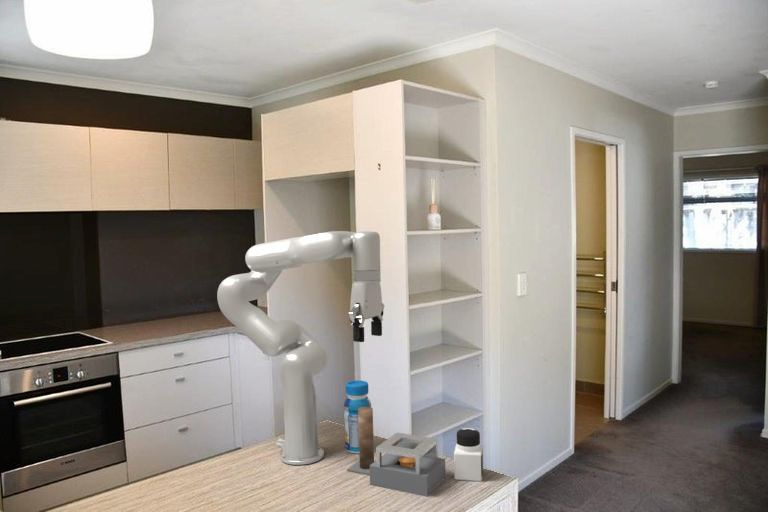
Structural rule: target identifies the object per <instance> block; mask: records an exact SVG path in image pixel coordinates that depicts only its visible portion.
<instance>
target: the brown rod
mask: <svg viewBox="0 0 768 512" xmlns="http://www.w3.org/2000/svg"><path fill="white" fill-rule="evenodd" d="M358 424H359V460H360V468H362V469H370V465H371V464H372V463H374V461H375V446H374V445H375V444H374V443H375V441H374V438H375V437H374V409H373V407H372V406H371V407H360V408H358Z"/></svg>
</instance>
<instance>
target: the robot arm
mask: <svg viewBox="0 0 768 512" xmlns="http://www.w3.org/2000/svg"><path fill="white" fill-rule="evenodd" d="M380 236H381V235H380V234H379V233H378V232H377V231H355V232H354V231H347V230H341V231H340V230H338V231H337V230H334V231H326V232H325V231H324V232H320V233H316V234H315V233H314V234H310V235H309V234H308V235H304V236H298V237H289V238H286V239H285V238H284V239H280V240H274V241H268V242H263V243H258V244H255V245H252V246H251V247H250V248H249V249H248V250H247V251H246V253H245V264H246V266H247V267H248V268H249V269H250V272H246V273H238V274H233V275H230V276H228V277H226V278H225V279H223V280H222V281H221V283H220V284H219V286H218V288H217V293H216V295H217V304H218V306H219V307H218V308H219V309H220V311H221V313H222V315H224V317H225V318H226V319H227V320H228V321H229V322H231V324H233V325H234V326H235V327H236V328H237V329H238V330H239V331H241V332H242V333H243V335H244V336H246V338H248V339H249V340H250V341H251V342H252V343H253V344H254V345H255V346H256V347H257V348H258V349H259V350H260V351H261V352H262V353H264V354H265V355H266V356H268V357H279V356H281V355H283V354H285V355H284V356H283V357H282V358H281V360H280V363H279V376H280V381H281V386H282V393H283V396H282V397H283V416H284V421H283V423H284V438H283V437H278V438H277V440H276V442H275V447H276V448H281V449H282V451H281V452H280V454H279V460H280V461H281V462H283V463H284V464H287V465H292V466H293V465H294V466H298V465H299V466H300V465H301V466H303V465H309V464H314V463H316V462H318V461H320V460H322V459H323V458H324V456H325V452H324V449H323V448H322V447H320V446H319V421H318V402H317V401H318V395H317V389H316V385H315V382H314V377H315V376H317V375H319V374H320V373H322V372H323V371H324V370H325V369H326V368H327V366H328V364H329V356H328V353H327V351H326V349H325V347H323V345H322V344H321V343H320V342H319V341H318V340H317V339H316V338H314V337H313V336H312V335H311V334H310V333H309V332H308V331H307V330H306V329H304V327H302V325H300V324H298V323H297V322H295V321H293V320H288V319H287V320H286V319H285V320H283V319H282V320H281V321H280V320H279V321H275V320H273V319H272V318H271V317H270V316H269V315H267V313H265V312H264V310H262V309H261V308H259V307H258V306H256V305H254V304H252V303H251V301H255V300H260V299H262V298H263V297H264V296H266V294H267V293H268V292H269V290H270V289H271V288H272V287H273V285H274V284H275V282H276V281H277V280H278V277H280V275H281V273H283V270H288V269H294V268H300V267H303V265H306V264H312V263H318V262H319V263H320V262H325V261H330V260H338V259H345V258H346V259H347V258H352V271H353V272H352V275H353V276H352V278H353V279H352V281H353V282H352V285H351V291H350V310H349V312H348V315H349V318H350V320H349V321H350V323H351V327H352V341H353V342H355V343H356V342H358V343H363V342H365V327H364V323H365V320H369V319H371V320H372V321H370V332H371V333H370V334H371V336H376V337H382V336H383V323H382V322H383V320H384V319H383V316H384V311H385V310H384V309H385V304H384V303H383V300H382V299H383V298H382V287H381V237H380Z"/></svg>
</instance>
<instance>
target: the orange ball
mask: <svg viewBox="0 0 768 512" xmlns="http://www.w3.org/2000/svg"><path fill="white" fill-rule="evenodd" d="M399 462H400V465H401V466H406V467H411V468H413V467H414V466H416V463H415V458H411V457H405V456H401V457H399Z"/></svg>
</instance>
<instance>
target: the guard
mask: <svg viewBox="0 0 768 512" xmlns="http://www.w3.org/2000/svg"><path fill="white" fill-rule="evenodd" d="M382 453H383V454H386V453H388V454H394V455H399V456H405V457H411V458H415V463H416V474H417V475H420V474H421V457H428V458H434V459H437V458H439V440H438V438H434V437H429V436H428V437H427V436H423V435H422V436H420V435H414V434H409V433H403V432H401V433H400V432H396V433H394V434H393V435H391V436H390V437H389V438H387V439H386V440H384V441H383V442H382V443H380V444H378V445H377V446H376V447H375V456H376V457H375V459H376V460H375V461H376V467H381V466H382V456H383V455H382Z"/></svg>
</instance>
